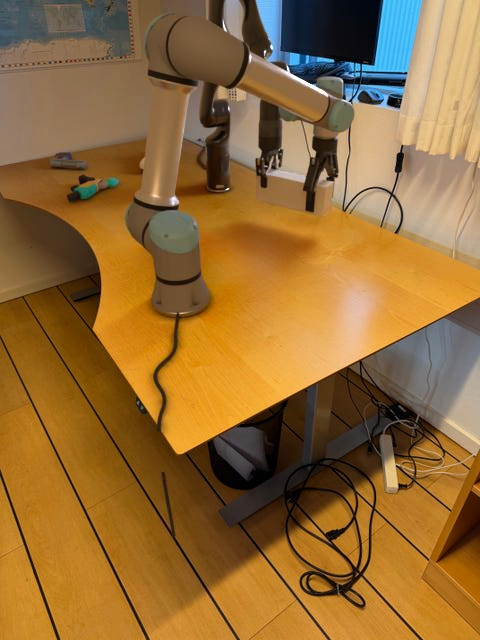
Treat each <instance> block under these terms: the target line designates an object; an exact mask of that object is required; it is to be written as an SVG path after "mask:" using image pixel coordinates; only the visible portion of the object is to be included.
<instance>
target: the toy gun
mask: <svg viewBox="0 0 480 640" xmlns="http://www.w3.org/2000/svg"><path fill="white" fill-rule="evenodd" d="M48 165H49V166H50V167H53V168H58V169H76V170H86V166H87V161H85V160H79V159H73V154H72V152H71V151H60V152H57V153H55V154H54V158H51V159H50V161H49V163H48Z"/></svg>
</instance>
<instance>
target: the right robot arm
mask: <svg viewBox="0 0 480 640" xmlns="http://www.w3.org/2000/svg"><path fill="white" fill-rule="evenodd" d="M225 2H226V0H208V14H207V15H208V18H207V20H209V21H211V22H212V23H214V24H215V25H217V26H219V27H220V28H222V29H223V30H225V31H227V32H228V33H230V34H231V32H230V30H229V28H228V26H227V22H226V20H225ZM238 2H239V3H240V5H241V7H242V10H243V13H242V14H243V16H242V22H241V36H242V41H243V42H245V43H246V44H247V45H248V47H249V49H250V52H252V53H254V54H256V55H257V56H259V57H261V58H263V59H265V60H267V61H268V59H269V58H271V56H272V55H273V52H274V46H273V44H272V41H271V40H270V37H269V35H268V32H267V31H266V28H265V26H264V24H263V21H262V18H261V15H260V11H259V7H258V3H257V0H238ZM269 62H270V63H272V64H274V65H276V66H278V67H280V68H281V69H283V70H285V71H287V72H289V73H290V68H289V66H288V64H287V62H285V61H283V60H275V61H269ZM202 82H203V83H202V88H201V94H200V95H201V96H200V100H199V108H198V117H199V124H200V125H201V126H202V127H203V128H204V129H213V128H215V130H214V131H213V132H212V133H210V134H209V135H207V136H206V137H205V138H204V139H205V141H204V145H205V146H204V148H203V149H202V151H201V152H200V153H199V155H198V160H199V163H200V164H201V165H202V167H204V168H205V172H206V174H205V175H206V187H207V188H206V189H207V191H208V192H211V193H216V194H221V193H222V194H223V193H226V192H229V191H230V190H231V157H230V156H231V155H230V154H231V153H230V141H231V122H232V115H231V113H232V112H231V106H230V103H229V102H228V100H227V99H225V98H218V99H216V95H217V92H218V90H219V88H220V87H221V86H220V85H217V84H213V83H210V82H205V81H202ZM257 134H258V136H257V137H258V140H257V141H258V142H257V144H258V145H257V147H258V149H260V151H261V153H260V156H259V157H256V158H255V159H254V162H255V176H256V175H257V176H260V177H261V181H260V185H261V187H262V188H267V175H268V171H269V170H270V168H271V169H276V170H280V168H282V166H283V158H284V157H283V156H284V149H283V148H282V147H283V146H282V145H283V119H282V118H281V116H280V113H279V108H278V106H275V105H273V104H271V103H269V102H267V101H265V100H262V99H260V101H259V121H258V133H257ZM198 141H201V139H200V138H199V139H198ZM204 152H205V164H204V163H203V161H202V160H201V159H202V158H201V157H202V155H203V154H204ZM264 169H265V173H264ZM259 171H260V172H259Z"/></svg>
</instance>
